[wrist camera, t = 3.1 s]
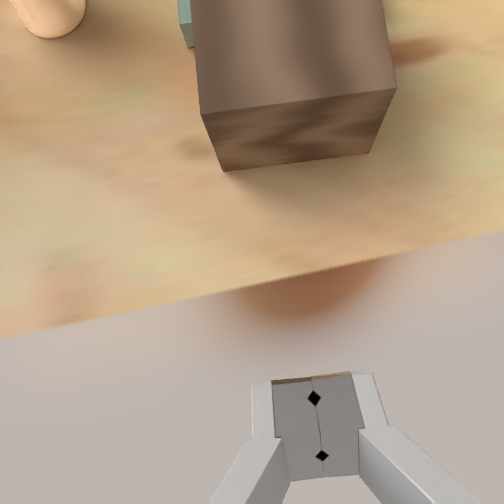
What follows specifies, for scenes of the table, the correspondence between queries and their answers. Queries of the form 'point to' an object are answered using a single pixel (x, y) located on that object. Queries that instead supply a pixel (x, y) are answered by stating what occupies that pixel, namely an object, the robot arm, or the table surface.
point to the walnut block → (291, 78)
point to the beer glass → (50, 16)
